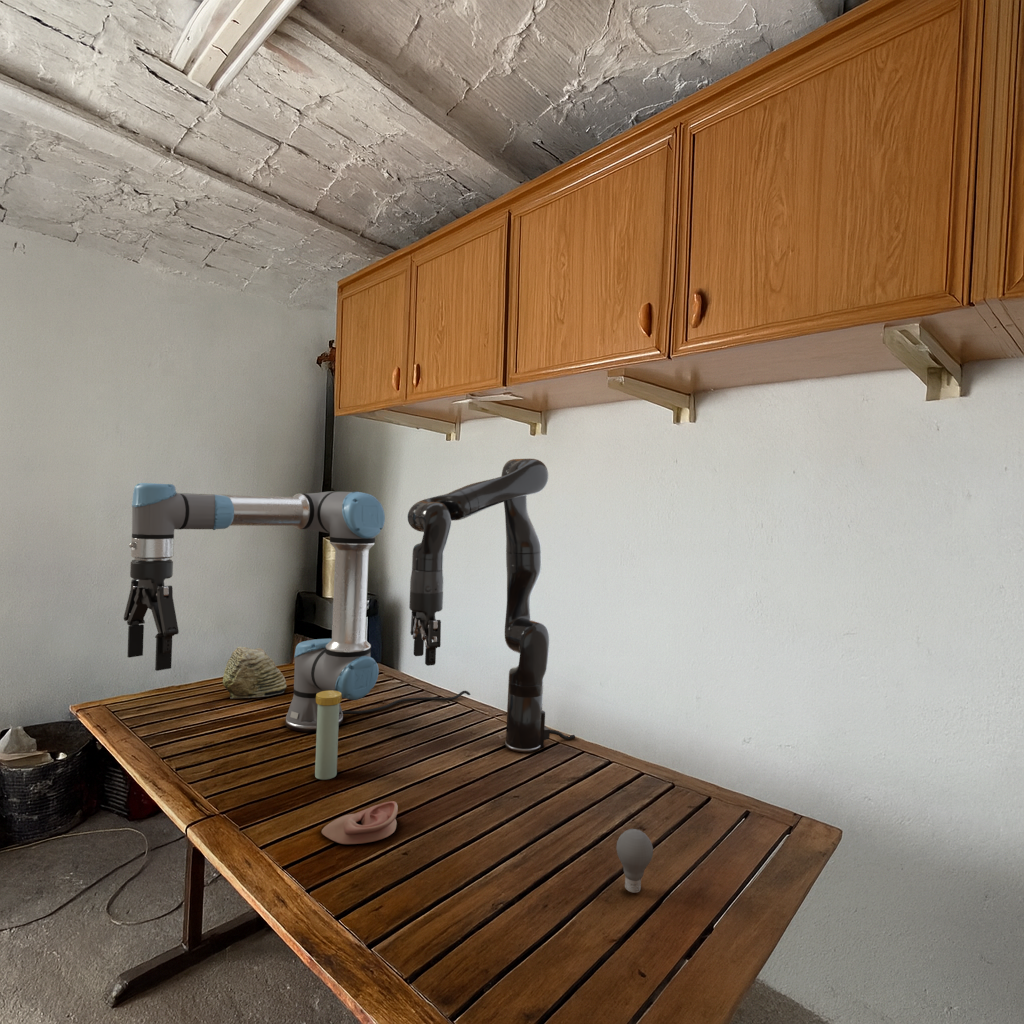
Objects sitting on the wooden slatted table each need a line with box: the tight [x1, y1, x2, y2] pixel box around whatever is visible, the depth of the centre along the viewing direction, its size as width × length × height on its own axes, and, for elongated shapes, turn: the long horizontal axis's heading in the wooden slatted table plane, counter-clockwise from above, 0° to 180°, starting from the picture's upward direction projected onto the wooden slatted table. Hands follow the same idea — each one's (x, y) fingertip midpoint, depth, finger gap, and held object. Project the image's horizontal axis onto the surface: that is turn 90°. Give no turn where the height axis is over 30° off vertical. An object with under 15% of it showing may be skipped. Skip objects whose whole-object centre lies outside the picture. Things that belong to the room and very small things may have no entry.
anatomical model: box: [321, 800, 399, 845], centre depth 121 cm, size 13×4×12 cm
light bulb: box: [615, 828, 654, 894], centre depth 106 cm, size 6×6×10 cm
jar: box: [314, 704, 340, 781], centre depth 144 cm, size 5×5×18 cm
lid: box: [316, 690, 343, 706], centre depth 144 cm, size 6×6×2 cm
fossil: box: [222, 646, 288, 699], centre depth 198 cm, size 9×18×15 cm, turn 132°
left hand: (148, 662), depth 129 cm, fingers open, 13 cm apart
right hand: (424, 660), depth 144 cm, fingers open, 8 cm apart
